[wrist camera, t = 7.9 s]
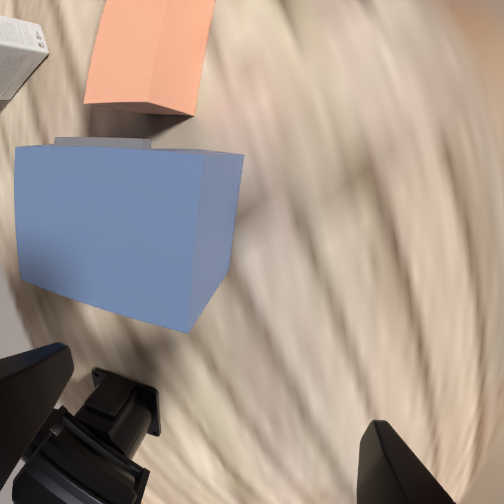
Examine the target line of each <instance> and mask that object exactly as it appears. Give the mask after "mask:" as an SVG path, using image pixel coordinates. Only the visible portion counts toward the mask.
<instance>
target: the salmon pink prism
mask: <svg viewBox="0 0 504 504" xmlns="http://www.w3.org/2000/svg"><path fill="white" fill-rule="evenodd" d="M214 4H215V0H106V3H105V7H104V10H103V13H102V17H101V21H100V24H99V28H98V32H97V36H96V40H95V45H94V49H93V54H92V58H91V63H90V68H89V74H88V79H87V85H86V91H85V98H84V104H88V105H95V106H102V107H108V108H114V109H120V110H125V111H131V112H136V113H141V114H168V115H188V116H194V115H195V108H196V102H197V95H198V89H199V83H200V77H201V71H202V65H203V59H204V54H205V48H206V43H207V38H208V33H209V28H210V23H211V18H212V13H213V9H214Z"/></svg>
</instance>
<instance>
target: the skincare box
mask: <svg viewBox="0 0 504 504" xmlns="http://www.w3.org/2000/svg"><path fill="white" fill-rule="evenodd" d="M48 54H49V51H48V47H47V43H46V41H45V37H44V34H43V31H42V28H41V26H40V25H38V24H34V23H30V22H26V21H23V20H19V19H15V18H10V17H6V16H2V15H0V100H10V99H11V98H12V97H13V95H14V94H15V93H16V91H17V90H18V89H19V88H20V86H21V85H22V84H23V83H24V81H25V80H26V79H27V78H28V77H29V75H30V74H31V73H32V72H33V71H34V70H35V68H36V67H37V66H38V65H39V64H40V63H41V62H42V61H43V59H44V58H45V57H46V56H47V55H48Z"/></svg>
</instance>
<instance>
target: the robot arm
mask: <svg viewBox="0 0 504 504" xmlns="http://www.w3.org/2000/svg"><path fill="white" fill-rule="evenodd" d="M73 371H74V364H73V360H72V355H71V350H70V348H69V347H68V346H67V345H64V344H62V343H59V342H57V343H53V344H50V345H47V346H43V347H40V348H36V349H33V350H30V351H26V352H23V353H20V354H16V355H13V356H9V357H6V358H2V359H0V491H1V489H2V488H3V486H4V484H5V483H6V481H7V479H8V478H9V476H10V474H11V473H12V471H13V469H14V468H15V466H16V465H17V463H18V461H19V460H20V459H21V460H23V461H24V462H25V465H24V467H23V468H22V469H21V470H20V472H19V473H18V474H17V476H16V477H15V478H14V480H13V487H12V501H13V502H14V504H141V500H142V497H143V494H144V490H145V487H146V484H147V480H148V477H149V474H150V471H149V470H147V469H146V468H143V467H141V466H139V465H138V464H136V463H135V462H133V461H132V458H133V456H134V455H135V453H136V451H137V449H138V447H139V446H140V444H141V442H142V440H143V439H144V437H145V435H146V433H148V434H150V435H153V436H160V434H161V425H160V412H159V397H158V392H157V390H155V389H154V388H151V387H148V386H145V385H142V384H139V383H136V382H133V381H131V380H128V379H125V378H122V377H119V376H117V375H114V374H111V373H109V372H106V371H104V370H101V369H99V368H95V369H94V370H93V371H92V376H93V381H94V385H95V389H94V391H93V392H92V393H91V394H90V395H89V397H88V398H87V399H86V400H85V402H84V404H83V406H82V407H81V408H80V409H79V411H78V412H77V413H76V414H75V415H74V416H73V415H72V414H71V413H69V412H68V411H67V409H66V408H65V407H64V406H63V405H62V406H61V407H60V408H59V409H54V406H55V405H56V403H57V401H58V399H59V397H60V396H61V394H62V392H63V390H64V388H65V386H66V385H67V383H68V381H69V379H70V377H71V376H72V374H73ZM53 432H54V433H56V434H57V435H58V436H57V435H56V434H54V433H53ZM357 504H456V503H455V502H453V499H452V498H451V497H450V496H449V495H448V493H447V492H446V491H445V490H444V489H443V487H442V486H441V485H440V484H439V483H438V481H437V480H436V479H435V478H434V477H433V475H432V474H431V473H430V472H429V471H428V469H427V468H426V467H425V466H424V465H423V464H422V462H421V461H420V460H419V459H418V458H417V456H416V455H415V454H414V453H413V452H412V450H411V449H410V448H409V447H408V446H407V444H406V443H405V442H404V441H403V440H402V438H401V437H400V436H399V435H398V434H397V432H396V431H395V430H394V429H393V428H392V426H391V425H390V424H389V423H388V422H387V421H385V420H373V421H371V423H370V424H369V426H368V428H367V429H366V431H365V433H364V435H363V436H362V438H361V441H360V450H359V465H358V478H357Z"/></svg>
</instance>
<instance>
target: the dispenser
mask: <svg viewBox="0 0 504 504" xmlns="http://www.w3.org/2000/svg"><path fill="white" fill-rule="evenodd" d="M151 141H152V139H137V138H111V137H55V142H54V144H50V145H35V146H22V147H16V148H15V171H14V202H15V225H16V239H17V250H18V259H19V267H20V275H21V280H22V281H25V282H27V283H30V284H32V285H35V286H38V287H40V288H43V289H46V290H48V291H51V292H54V293H56V294H59V295H62V296H65V297H68V298H71V299H73V300H76V301H79V302H82V303H85V304H88V305H91V306H94V307H97V308H100V309H104V310H107V311H110V312H113V313H116V314H120V315H123V316H126V317H130V318H133V319H136V320H140V321H143V322H147V323H150V324H154V325H158V326H161V327H165V328H169V329H173V330H176V331H180V332H184V333H189V332H190V330H191V328H192V327H193V325H194V324H195V322H196V321H197V319H198V317H199V316H200V314H201V313H202V311H203V310H204V308H205V306H206V305H207V303H208V302H209V300H210V299H211V297H212V296H213V294H214V292H215V291H216V289H217V288H218V286H219V285H220V283H221V282H222V280H223V278H224V277H225V275H226V274H227V272H228V271H229V265H230V257H231V249H232V241H233V233H234V225H235V218H236V210H237V203H238V195H239V188H240V180H241V173H242V166H243V159H244V155H240V154H233V153H225V152H216V151H208V150H198V149H151Z"/></svg>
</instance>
